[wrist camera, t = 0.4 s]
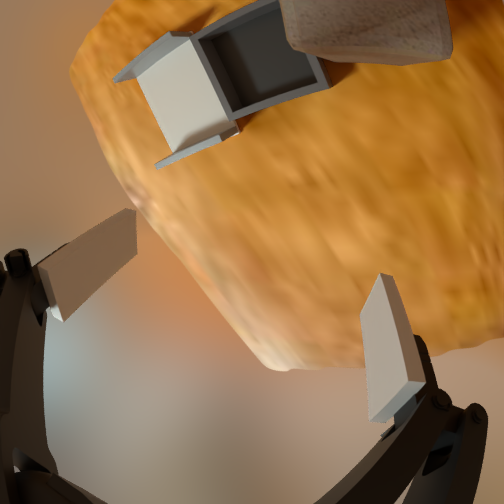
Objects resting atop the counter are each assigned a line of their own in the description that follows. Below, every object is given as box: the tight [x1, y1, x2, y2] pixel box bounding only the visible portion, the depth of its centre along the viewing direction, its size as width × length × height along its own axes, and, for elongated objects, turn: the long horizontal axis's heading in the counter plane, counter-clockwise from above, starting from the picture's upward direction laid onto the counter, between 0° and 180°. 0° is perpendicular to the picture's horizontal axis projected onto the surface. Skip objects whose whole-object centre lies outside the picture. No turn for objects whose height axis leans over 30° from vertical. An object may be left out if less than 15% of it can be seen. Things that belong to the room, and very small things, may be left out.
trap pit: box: [189, 0, 333, 122], centre depth 27 cm, size 14×14×4 cm
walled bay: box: [113, 31, 241, 170], centre depth 34 cm, size 13×18×6 cm
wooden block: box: [279, 0, 453, 66], centre depth 14 cm, size 10×10×20 cm
